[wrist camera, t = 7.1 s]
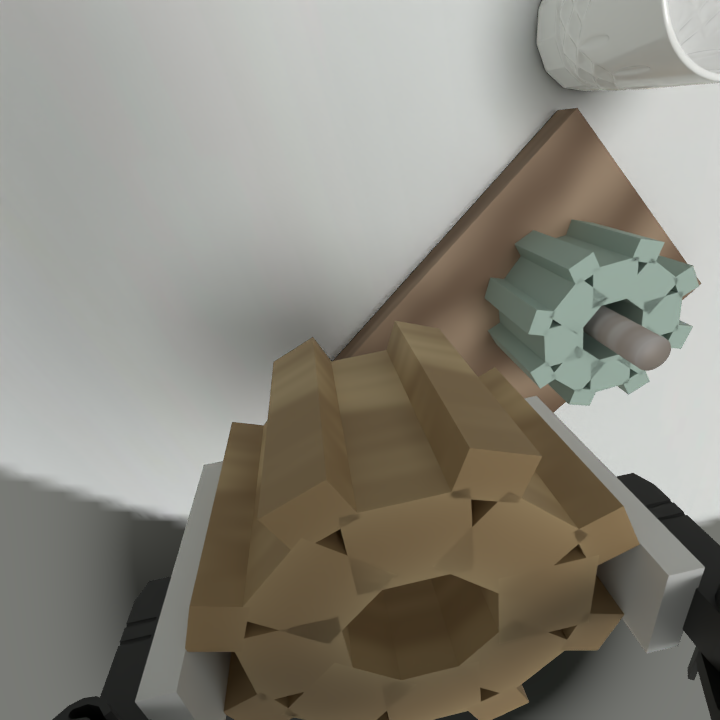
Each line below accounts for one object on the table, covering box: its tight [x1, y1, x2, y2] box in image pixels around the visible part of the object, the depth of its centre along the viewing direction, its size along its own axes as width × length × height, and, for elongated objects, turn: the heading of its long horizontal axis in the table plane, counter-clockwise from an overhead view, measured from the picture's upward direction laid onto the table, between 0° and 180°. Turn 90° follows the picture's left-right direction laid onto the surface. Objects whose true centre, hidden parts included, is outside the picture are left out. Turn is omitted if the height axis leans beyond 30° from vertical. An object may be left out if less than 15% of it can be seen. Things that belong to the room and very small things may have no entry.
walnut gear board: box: [333, 108, 701, 412], centre depth 27 cm, size 16×26×11 cm, turn 139°
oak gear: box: [185, 321, 640, 720], centre depth 12 cm, size 10×10×6 cm
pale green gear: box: [485, 219, 699, 406], centre depth 26 cm, size 10×10×6 cm
